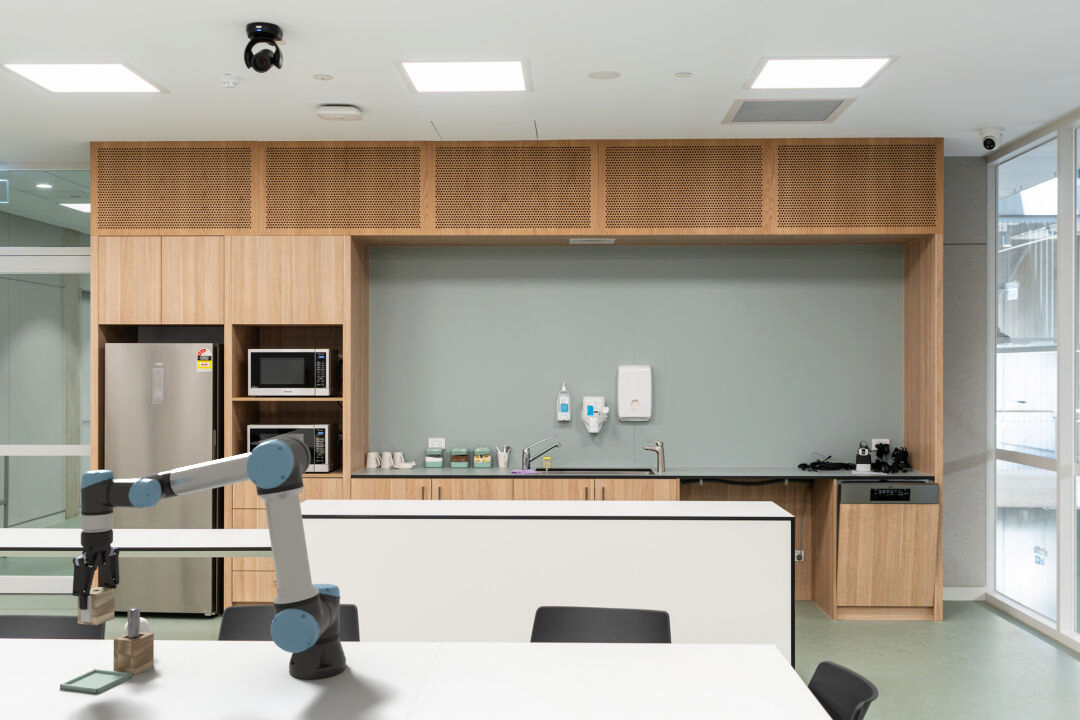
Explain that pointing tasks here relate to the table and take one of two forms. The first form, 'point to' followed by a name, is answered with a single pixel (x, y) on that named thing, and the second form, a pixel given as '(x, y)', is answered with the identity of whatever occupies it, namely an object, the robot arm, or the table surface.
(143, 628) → the light bulb
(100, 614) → the narrow-bore block
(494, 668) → the table surface
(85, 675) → the tray
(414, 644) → the table surface
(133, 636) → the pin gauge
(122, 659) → the wide-bore block
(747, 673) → the table surface
